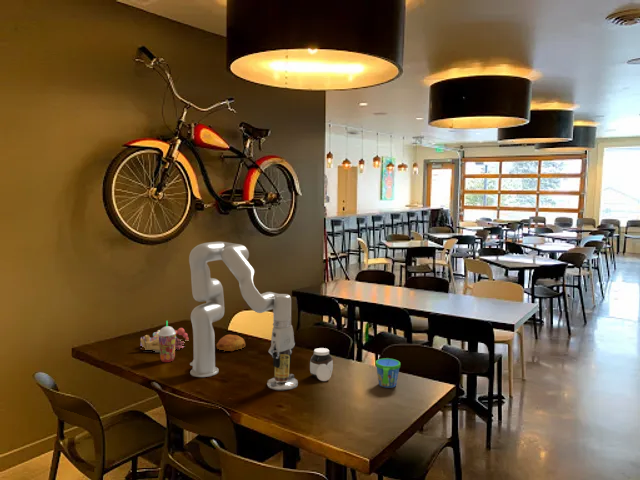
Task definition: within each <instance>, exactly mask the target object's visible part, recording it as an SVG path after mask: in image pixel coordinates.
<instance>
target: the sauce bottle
mask: <svg viewBox="0 0 640 480" xmlns="http://www.w3.org/2000/svg"><path fill="white" fill-rule="evenodd" d="M276 355H277V352H276ZM279 358H280V367H279V368H277V367H274V376H273V377H274V378H275V380H276V381H280V382H283V381H287V380H288V378H289V375H290V364H291V363H290V349H289V350H286V351H283V352H280V355H279Z"/></svg>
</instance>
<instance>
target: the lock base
mask: <svg viewBox="0 0 640 480" xmlns="http://www.w3.org/2000/svg"><path fill="white" fill-rule="evenodd" d="M298 384H299V382H298V379H296V378H295V374H293V373H289V378H288V380H287V381H283V382H280V381H276V380H275V377H272V378H270V379H267V382H266V385H267V387H268V388H269V389H271V390H273V391H289V390H293V389H295V388H297V387H298Z"/></svg>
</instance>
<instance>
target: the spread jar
mask: <svg viewBox="0 0 640 480" xmlns="http://www.w3.org/2000/svg"><path fill="white" fill-rule="evenodd" d="M333 368H334V365H333V357H332V355H331V354H330V350H329V349H328V348H326V347H325V348H324V347H319V348H314V350H313V355H312V356H311V358H310V361H309V371H310V374H311V375H312V376H313V377H315V378H316V379H318V380H319V381H321V382H327V381H329V380H330V379H331V377H332V375H333V370H334V369H333Z"/></svg>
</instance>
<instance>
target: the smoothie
mask: <svg viewBox="0 0 640 480" xmlns="http://www.w3.org/2000/svg"><path fill="white" fill-rule="evenodd" d="M168 321H169V320H166V321H165V322H166V325H165V326H163V327H162V328H160V329H159V330H160V332H159V333H158V336H159V348H160V352H159V357H160V360H161V362H162V363H172V362H173V361H174V360H175V357H176V351H175V341H176V338H177V335H176V332H175V330H176V329H174V328H173V326H169V324H168V323H169V322H168ZM171 361H172V362H171Z"/></svg>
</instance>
